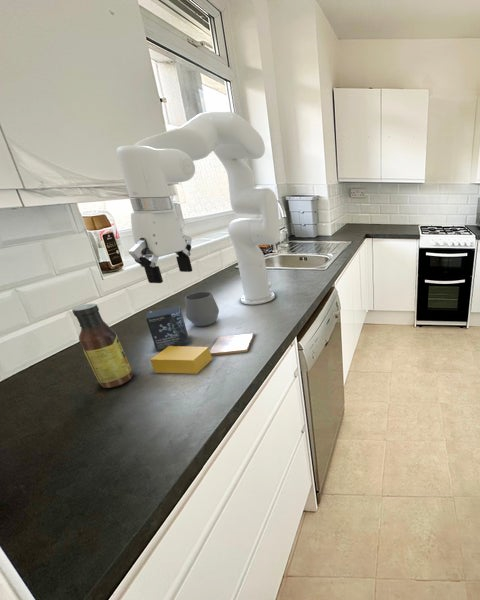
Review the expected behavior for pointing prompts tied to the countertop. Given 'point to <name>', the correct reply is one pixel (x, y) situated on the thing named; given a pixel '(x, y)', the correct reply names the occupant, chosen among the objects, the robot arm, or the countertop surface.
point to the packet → (181, 359)
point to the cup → (201, 308)
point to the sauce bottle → (102, 347)
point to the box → (167, 327)
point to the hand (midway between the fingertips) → (172, 276)
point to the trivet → (232, 344)
